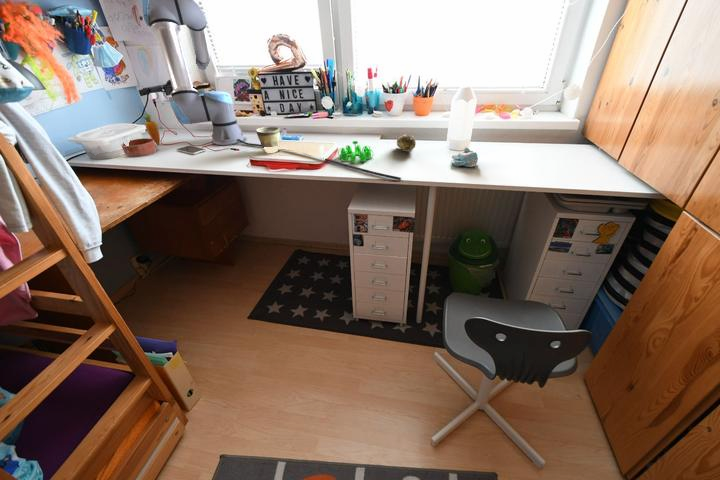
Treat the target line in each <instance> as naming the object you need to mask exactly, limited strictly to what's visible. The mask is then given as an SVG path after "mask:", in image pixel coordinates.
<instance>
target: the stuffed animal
mask: <svg viewBox="0 0 720 480" xmlns="http://www.w3.org/2000/svg"><path fill="white" fill-rule="evenodd" d="M450 161H451V164H452V165H453V166H455V167H462V166H463V167H465V168H473V167H475V166H476V165H477V164H478V161H479V157H478V153H477V152H475V151H474V150H470V148H469V147H467V146H465V147H464V150H463V151H462V153H461V152H458V153H457V154H453V155H452V156H451V159H450Z"/></svg>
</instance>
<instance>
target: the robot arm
mask: <svg viewBox="0 0 720 480" xmlns="http://www.w3.org/2000/svg"><path fill="white" fill-rule="evenodd" d="M140 6H141V10H142V14H143V18H144V22H145V24H146V26H147V27H150V29H151V31H152V32H153V33H155V34H156V36H157V40H158V42H159V43H158V44H159V47H160V49H161V53H162V56H163V60H164V63H165V67H166V69H167V73H168V76H169V79H168V80H167V81H166V83H163V84H158V85H154V86H148V87H142V88H141V89H137V90H138V93H139V96H140V97H143V96H144V97H145V96H150V95H151V94H154V93H164V94H165V96H167V97H168V96H171V97H170V98H168V102H169V104H170V107H171V109H172V111H173V113H174V115H175V117H176V119H177V121H178V123H179V124H180V125H193V124H200V123H209V122H211V125H212V134H211V138H212V142H213V143H212V144H213V145H215V146H216V145H217V146H230V145H236V144H240V143H242V144H244V145H246V146H252V147H253V146H254V147H261V148H262V145H261V143H260V144H259V143H252V142H251V143H250V142H247V141H245V139H246V138H245V134H244V132H243V131H242V129H241V127H240V126H239V124H238V120H237V116H236V111H235V108H234V102H233V99H232V96H231V94H230V93H228V92H227V91H219V90H206V91H205V90H204V91H203V95H200V93H199V91H198V90H197V89H195V88H193V84H192V81H191V77H190V74H189V70H188V67H187V63H186V60H185V56H184V53H185V52H184V49H183V46H182V42H181V39H180V36H179V33H180V32H181V26H186V27H187V29H188V31H189V35H190V40H191V42H192V47H193V50H194V51H193V52H194V55H196V64H197V66H198V68H199V69H201V70H200V71H206V70H205V69H206V67H207V66H208V64H209V61H210V54H211V51H210V47H209V41H208V35H207V30H206V28H207V25H208V23H207V18H206V15H205V13H204V11H203V9H202V8H201V6H200V5H199V4H198V3H197V2H196V1H195V0H140ZM183 52H184V53H183ZM324 161H325V162H329V163H332V164H336V165H339V166H342V167H346V168H349V169H351V170H352V169H353V170H356V171H360V172H364V173H367V174H371V175H376V176H380V177H384V178H387V179H393V180H398V181H401V179H402V178H401V177H399V176H395V175H390V174H386V173H382V172H377V171H373V170H369V169H366V168H361V167H357V166H353V165H350V164H347V163H343V162H339V161H336V160H334V159H329V158H326V159H325V160H324Z"/></svg>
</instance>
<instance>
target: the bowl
mask: <svg viewBox="0 0 720 480" xmlns="http://www.w3.org/2000/svg"><path fill="white" fill-rule="evenodd" d="M129 141H130V142H129V146H126V145H125V144H124V142H122V143H123V144H122V143H121V144H120V146H121V149H122V150H123V153H124V155H125V156H127V157H133V158H134V157H136V158H137V157H144V156H149V155H151V154H153V153H155V152H156V151H157V150H158V147H157V144H156V143H155V142H154V140H153V139H152V138H151V137H142V138H135V139H131V140H129Z"/></svg>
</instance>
